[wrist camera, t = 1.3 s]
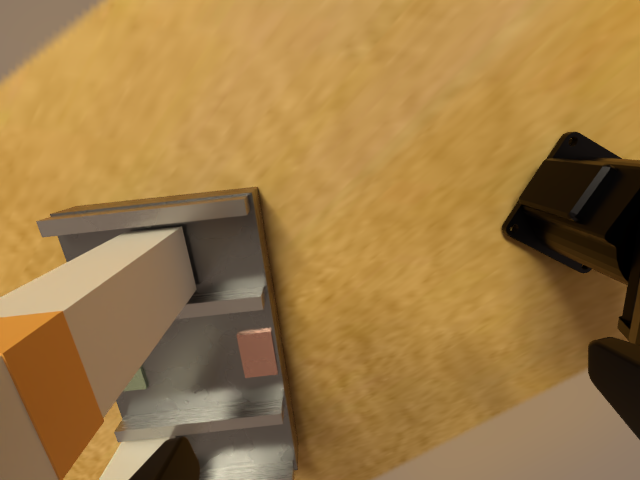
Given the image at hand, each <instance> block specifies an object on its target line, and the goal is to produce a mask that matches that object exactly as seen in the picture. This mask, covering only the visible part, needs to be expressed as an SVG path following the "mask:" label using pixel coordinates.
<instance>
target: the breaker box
mask: <svg viewBox="0 0 640 480" xmlns="http://www.w3.org/2000/svg"><path fill="white" fill-rule="evenodd" d="M50 216H51V217H49V218H46V219H42V220H39V221H36V222H37V225H38V227H39V230H40V233H41V235H42V237H50V236H58V238H59V241H60V244H61V247H62V250H63V252H64V255H65V258H66V261H67V262H69V261H71V260H73V259H75V258H76V257H78V256H80V255H82V254H84V253H86V252H88V251H90V250H92V249H94V248H95V247H97V246H99V245H101V244H103V243H105V242H107V241H109V240H111V239H113V238H115V237H116V236H118V235H120V234H122V233H125V232H134V231H143V230H153V229H162V228H171V227H180V226H182V229H183V233H184V238H185V242H186V246H187V250H188V255H189V259H190V263H191V267H192V272H193V276H194V280H195V284H196V289H197V290H196V291H195V292H194V294H193V295H192V297H191V298H190V299H189V301H188V302H187V303H186V305H185V306H184V308H183V309H182V310H181V312H180V313H179V314H178V316H177V317H176V319H175V320H174V321H173V323H172V324H171V326H170V327H169V328H168V330H167V331H166V332H165V334H164V335H163V337H162V338H161V339H160V341H159V342H158V343H157V345H156V346H155V348H154V349H153V350H152V352H151V353H150V355H149V356H148V357H147V359H146V360H145V361H144V363H143V364H142V366H141V367H140V368H139V370H138V371H137V372H136V374H135V375H134V377H133V378H132V379H131V381H130V382H129V383H128V385H127V386H126V388H125V389H124V390H123V392H122V393H121V395H120V396H119V397H118V399H117V400H116V402H117V404H118V407H119V410H120V413H121V416H122V418H123V419H122V421H121V422H120V424H119V426H118V427H117V429H116V430H115V432H114V433H115V435H116V438H117V441H118V442H125V441H134V440H143V439H152V438H161V437H170V436H175V437H180V436H185V437H186V438H188V440H189V442H190V444H191V446H192V448H193V450H194V453H195V455H196V457H197V459H198V461H199V465H200V477H199V480H294V470H298V439H297V433H296V426H295V420H294V414H293V407H292V401H291V395H290V388H289V382H288V376H287V370H286V363H285V357H284V351H283V344H282V338H281V332H280V325H279V319H278V313H277V306H276V300H275V294H274V288H273V281H272V275H271V269H270V262H269V256H268V250H267V243H266V237H265V231H264V225H263V218H262V212H261V206H260V199H259V193H258V187H251V188H242V189H232V190H223V191H214V192H205V193H195V194H186V195H177V196H167V197H158V198H149V199H140V200H130V201H121V202H112V203H102V204H93V205H84V206H75V207H72V208H69V209H66V210H62V211H59V212H56V213H52V214H50Z"/></svg>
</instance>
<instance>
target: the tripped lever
mask: <svg viewBox="0 0 640 480" xmlns="http://www.w3.org/2000/svg"><path fill="white" fill-rule="evenodd" d="M196 290H197V289H196V284H195V280H194V276H193V272H192V267H191V263H190V259H189V255H188V250H187V246H186V242H185V238H184V233H183V229H182V226H180V227H171V228H162V229H153V230H143V231H134V232H125V233H122V234H120V235H118V236H116V237H115V238H113V239H111V240H109V241H107V242H105V243H103V244H101V245H99V246H97V247H95V248H94V249H92V250H90V251H88V252H86V253H84V254H82V255H80V256H78V257H76V258H75V259H73V260H71V261H69V262H67V263H65V264H63V265H61V266H59V267H57V268H55V269H54V270H52V271H50V272H48V273H46V274H44V275H42V276H40V277H38V278H36V279H34V280H33V281H31V282H29V283H27V284H25V285H23V286H21V287H19V288H17V289H15V290H13V291H12V292H10V293H8V294H6V295H4V296H2V297H0V480H63V478H64V477H65V475H66V474H67V473H68V471H69V470H70V468H71V467H72V466H73V464H74V463H75V461H76V460H77V459H78V457H79V456H80V454H81V453H82V452H83V450H84V449H85V447H86V446H87V445H88V443H89V442H90V440H91V439H92V438H93V436H94V435H95V433H96V432H97V431H98V429H99V428H100V426H101V425H102V424H103V422H104V419H103V418H104V417H105V415H106V414H107V412H108V411H109V410H110V408H111V407H112V406H113V404H114V403H115V401H116V400H117V399H118V397H119V396H120V395H121V393H122V392H123V390H124V389H125V388H126V386H127V385H128V383H129V382H130V381H131V379H132V378H133V377H134V375H135V374H136V372H137V371H138V370H139V368H140V367H141V366H142V364H143V363H144V361H145V360H146V359H147V357H148V356H149V355H150V353H151V352H152V350H153V349H154V348H155V346H156V345H157V343H158V342H159V341H160V339H161V338H162V337H163V335H164V334H165V332H166V331H167V330H168V328H169V327H170V326H171V324H172V323H173V321H174V320H175V319H176V317H177V316H178V314H179V313H180V312H181V310H182V309H183V308H184V306H185V305H186V303H187V302H188V301H189V299H190V298H191V297H192V295H193V294H194V292H195V291H196Z"/></svg>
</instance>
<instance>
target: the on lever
mask: <svg viewBox="0 0 640 480" xmlns="http://www.w3.org/2000/svg"><path fill="white" fill-rule="evenodd" d="M172 438H176V437H175V436H170V437H161V438H152V439H143V440H134V441H125V442H121V444H120V446H119V447H118V449H117V451H116V452H115V454H114V455H113V457H112V459H111V460H110V462H109V464H108V465H107V467H106V469H105V470H104V472H103V474H102V475H101V477H100V478H99V480H129V479H130V478H131V477H132V475H133V474H134V473H135V472H136V471H137V470H138V469H139V468H140V467H141V466H142V465H143V464H144V463H145V462H146V461H147V460H148V459H149V457H150V456H151V455H152V454H153V453H154V452H155V451H156V450H157V449H158V448H159V447H160V446H161V445H162V444H163V443H164V442H165V441H166V440H168V439H172Z"/></svg>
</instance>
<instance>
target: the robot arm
mask: <svg viewBox="0 0 640 480" xmlns="http://www.w3.org/2000/svg"><path fill="white" fill-rule="evenodd" d="M570 138H572V143H571V144H570V145H569V139H570ZM512 225H514V226H515V227H514V229H513V230H511V231H510V227H511V226H512ZM502 230H503V232H504V233H505V234H506V235H508V236H510V237H512V238H514V239H516V240H518V241H520V242H522V243H524V244H526V245H528V246H530V247H532V248H534V249H536V250H538V251H539V252H541V253H543V254H545V255H547V256H549V257H551V258H553V259H555V260H557V261H559V262H561V263H563V264H565V265H567V266H569V267H571V268H573V269H575V270H577V271H579V272H581V273H587V272H589V271H590V270H591V269H594V270H596V271H598V272H600V273H602V274H605V275H607V276H609V277H611V278H613V279H615V280H617V281H620V282H622V283H624V284H626V285H628V287H627V293H626V298H625V304H624V309H623V315H622V316H620V317H619V321H618V326H617V327H618V329H619V330H620V331H621V332H622V334H623V335H624V336H625V337H626V338H627V339H628V340H629V342H627V341H623V340H620V339H617V338H613V337H607V338H602V339H598V340H594V341H592V342H590V344H589V346H588V373H589V376H590V379H591V381H592V382H593V384H594V385H595V386H596V388H597V389H598V390H599V391H600V392H601V393H602V395H603V396H604V397H605V399H606V400H607V401H608V402H609V403H610V405H611V406H612V407H613V408H614V409H615V411H616V412H617V413H618V414H619V415H620V417H621V418H622V419H623V420H624V421H625V423H626V424H627V425H628V426H629V428H630V429H631V430H632V431H633V432H634V433H635V435H636V436H637V437H638V438H639V439H640V160H628V159H622V158H620V157H618V156H617V155H615V154H613V153H612V152H610V151H608V150H607V149H605V148H603V147H602V146H600V145H598V144H597V143H595V142H593V141H592V140H590V139H588V138H587V137H585V136H583V135H582V134H580V133H578V132H567V133H565V134H563V135H562V137H561V138H560V139H559V141H558V142H557V144H556V145H555V147H554V148H553V150H552V151H551V153H550V154H549V156H548V157H547V159H546V160H544V161H543V163H542V164H541V166H540V167H539V169H538V170H537V172H536V173H535V175H534V176H533V178H532V179H531V181H530V182H529V184H528V185H527V187H526V188H525V190H524V191H523V193H522V195H521V196H520V198H519V201H518V203H517V204H516V206H515V207H514V209H513V210H512V212H511V213H510V215H509V216H508V218H507V219H506V221H505V222H504V224H503V226H502ZM582 264H583V266H582ZM199 477H200V465H199V461H198V459H197V457H196V455H195V453H194V450H193V448H192V446H191V444H190V442H189V440H188V438H186V437H185V436H180V437H176V438H172V439H168V440H166V441H165V442H164V443H163V444H162V445H161V446H160V447H159V448H158V449H157V450H156V451H155V452H154V453H153V454H152V455H151V456H150V457H149V459H148V460H147V461H146V462H145V463H144V464H143V465H142V466H141V467H140V468H139V469H138V470H137V471H136V472H135V473H134V474H133V475H132V477H131V478H130V479H129V480H199Z"/></svg>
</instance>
